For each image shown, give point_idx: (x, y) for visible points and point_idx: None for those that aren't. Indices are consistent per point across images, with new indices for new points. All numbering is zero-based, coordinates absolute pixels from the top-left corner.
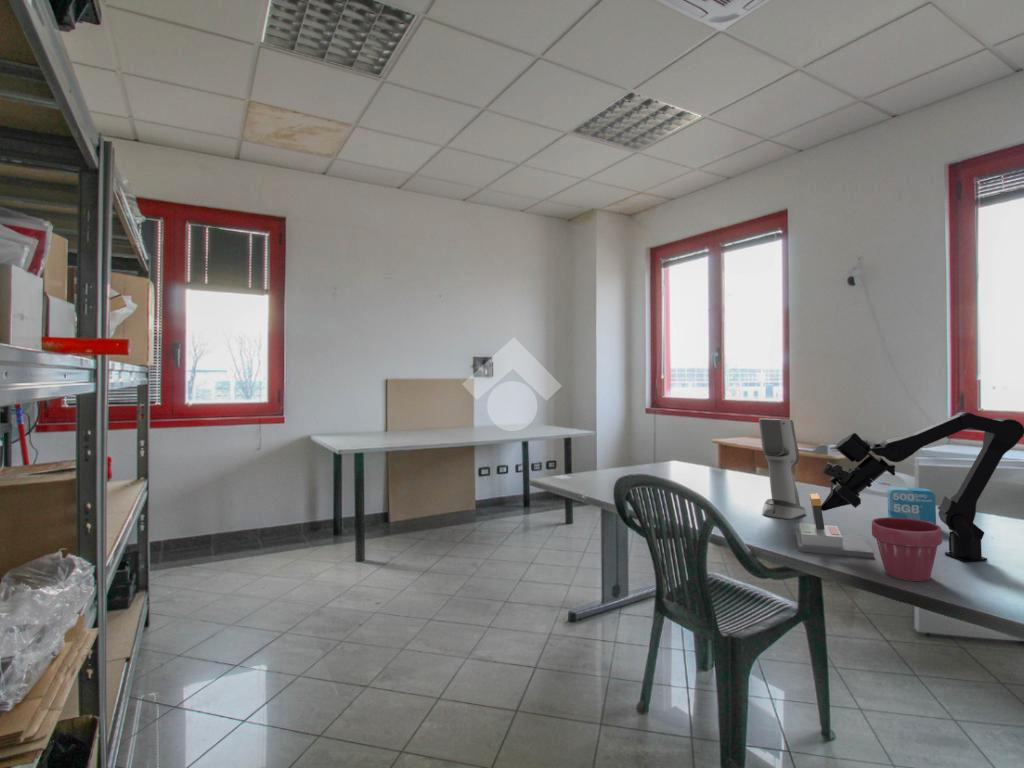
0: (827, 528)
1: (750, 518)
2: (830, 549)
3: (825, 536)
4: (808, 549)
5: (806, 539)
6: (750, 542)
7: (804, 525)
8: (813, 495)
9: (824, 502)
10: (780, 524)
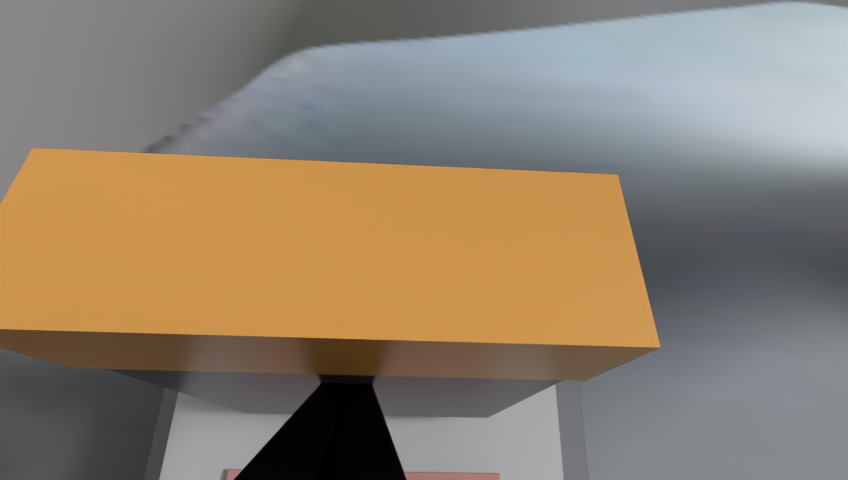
0: (445, 461)
1: (817, 68)
2: (157, 433)
3: (175, 407)
4: None
5: None
6: (340, 45)
7: None
8: (410, 223)
9: (334, 467)
10: (779, 200)
